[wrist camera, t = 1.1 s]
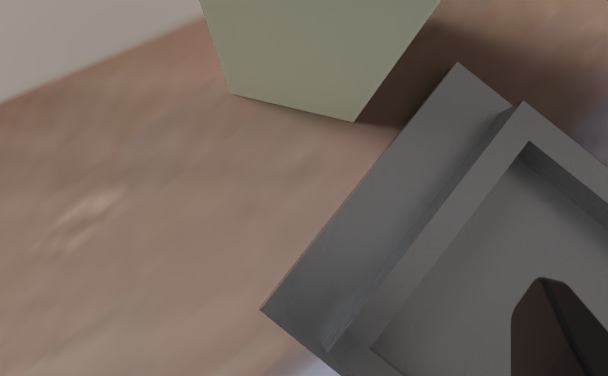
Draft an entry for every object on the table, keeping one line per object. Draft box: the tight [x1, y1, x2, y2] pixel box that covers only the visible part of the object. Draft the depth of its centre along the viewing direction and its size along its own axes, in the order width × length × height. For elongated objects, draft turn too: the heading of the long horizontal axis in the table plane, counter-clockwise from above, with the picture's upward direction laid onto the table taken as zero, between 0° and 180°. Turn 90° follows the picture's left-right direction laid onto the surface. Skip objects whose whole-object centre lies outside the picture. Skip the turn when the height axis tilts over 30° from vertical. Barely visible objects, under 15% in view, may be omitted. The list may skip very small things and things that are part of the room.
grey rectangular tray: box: [260, 62, 608, 376], centre depth 21 cm, size 12×16×3 cm
